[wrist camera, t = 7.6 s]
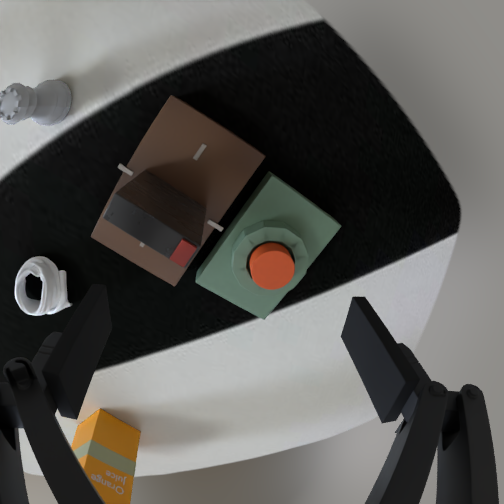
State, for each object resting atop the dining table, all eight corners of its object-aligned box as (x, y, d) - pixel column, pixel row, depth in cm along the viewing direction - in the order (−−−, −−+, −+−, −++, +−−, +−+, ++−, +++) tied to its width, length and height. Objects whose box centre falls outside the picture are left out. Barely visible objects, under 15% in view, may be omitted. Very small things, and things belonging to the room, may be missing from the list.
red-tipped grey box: (134, 187, 25) (100, 219, 17) (145, 168, 24) (113, 193, 17) (195, 225, 27) (185, 271, 19) (207, 208, 26) (201, 248, 19)
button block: (268, 170, 28) (275, 179, 25) (334, 218, 31) (348, 233, 27) (196, 271, 32) (193, 292, 28) (261, 308, 34) (266, 331, 31)
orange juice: (141, 431, 42) (127, 545, 24) (115, 447, 44) (98, 546, 26) (99, 407, 40) (70, 524, 21) (76, 425, 42) (49, 526, 23)
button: (265, 234, 27) (268, 242, 25) (299, 256, 28) (303, 264, 26) (241, 267, 28) (242, 276, 26) (274, 286, 29) (277, 296, 28)
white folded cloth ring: (33, 303, 33) (16, 329, 29) (12, 256, 29) (-10, 279, 25) (83, 302, 33) (67, 331, 28) (63, 250, 29) (41, 276, 25)
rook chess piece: (80, 84, 23) (36, 79, 16) (65, 130, 25) (19, 139, 18) (44, 76, 22) (-5, 71, 15) (30, 119, 24) (-19, 127, 16)
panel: (170, 93, 25) (164, 90, 22) (267, 155, 28) (272, 161, 25) (96, 222, 29) (84, 234, 26) (183, 274, 32) (180, 290, 29)
